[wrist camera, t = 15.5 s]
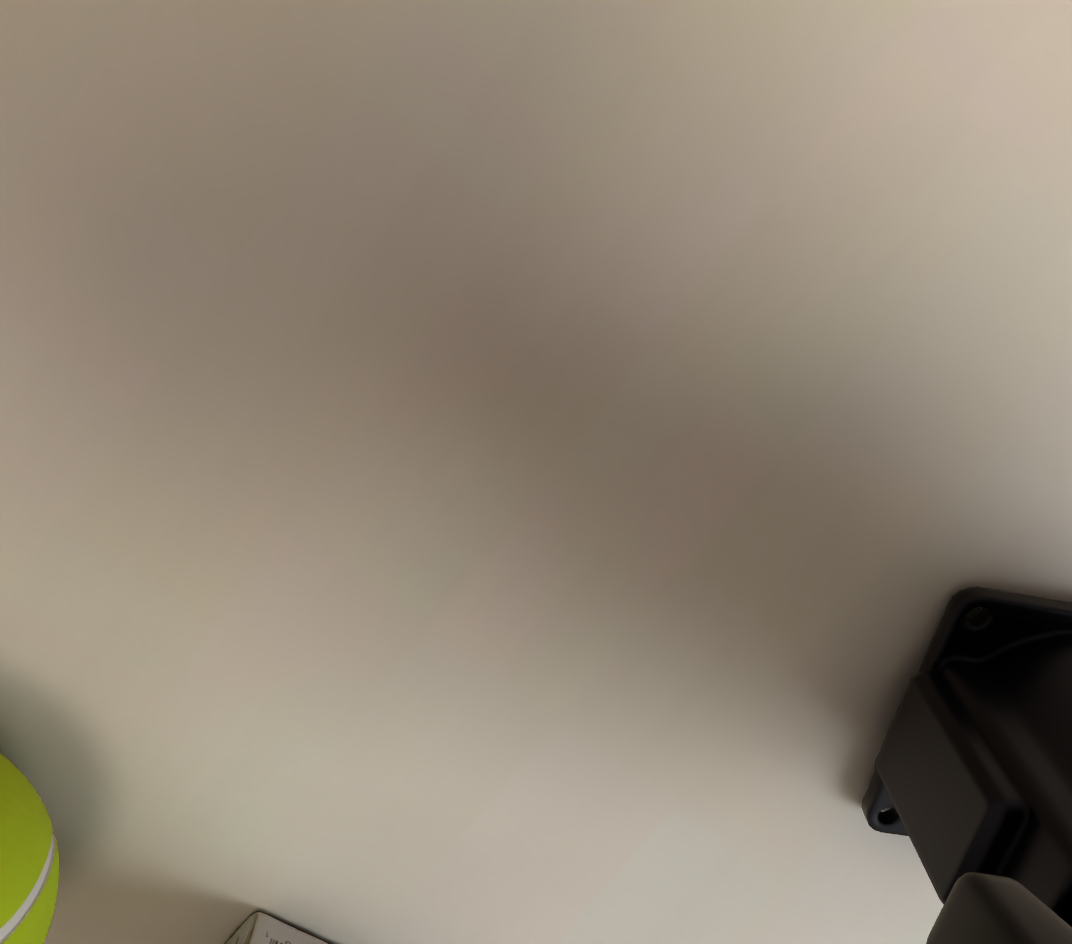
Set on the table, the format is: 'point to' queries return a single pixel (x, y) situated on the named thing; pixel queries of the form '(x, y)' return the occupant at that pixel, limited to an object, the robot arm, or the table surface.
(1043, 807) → the robot arm
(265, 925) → the coffee box
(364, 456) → the table surface
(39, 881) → the tennis ball
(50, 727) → the table surface
